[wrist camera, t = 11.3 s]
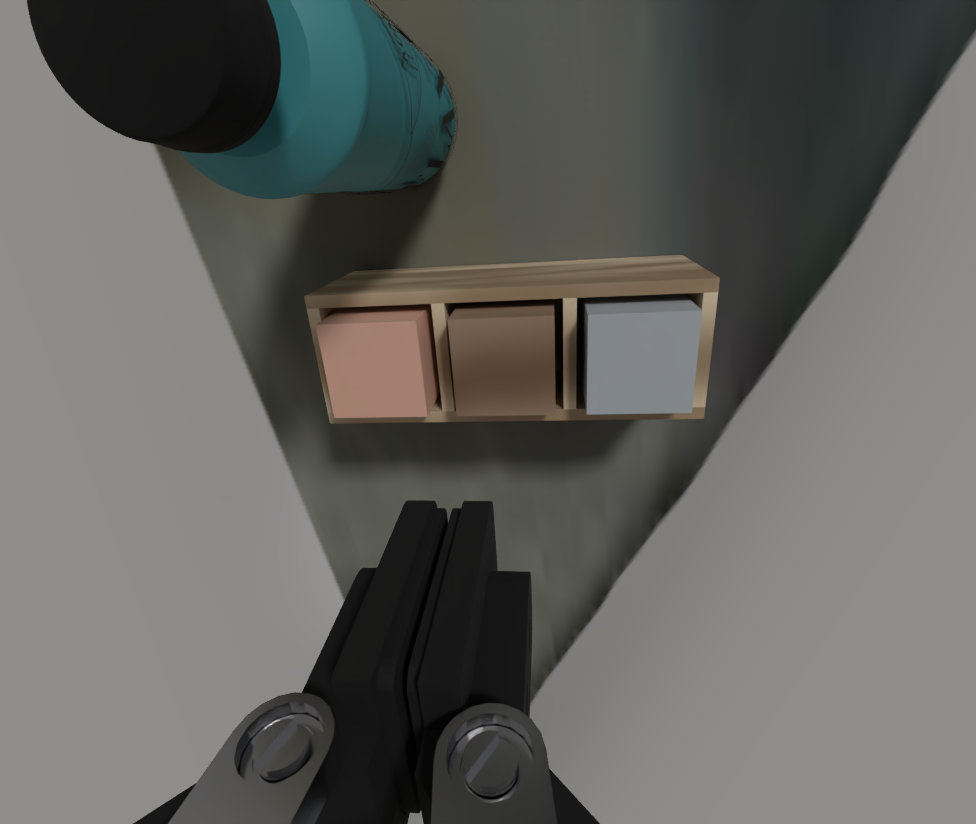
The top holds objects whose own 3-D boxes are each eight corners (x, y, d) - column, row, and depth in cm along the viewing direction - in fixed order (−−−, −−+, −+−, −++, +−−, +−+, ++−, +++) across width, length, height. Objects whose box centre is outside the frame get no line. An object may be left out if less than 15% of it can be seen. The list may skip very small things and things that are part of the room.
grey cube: (581, 290, 27) (588, 314, 22) (675, 286, 26) (702, 310, 22) (580, 376, 29) (586, 414, 24) (668, 374, 28) (691, 412, 23)
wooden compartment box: (354, 271, 31) (304, 296, 25) (682, 254, 29) (720, 278, 22) (371, 376, 34) (330, 423, 27) (672, 369, 31) (703, 418, 25)
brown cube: (464, 295, 27) (447, 319, 23) (553, 291, 27) (554, 315, 22) (470, 378, 29) (456, 416, 25) (554, 376, 29) (555, 414, 24)
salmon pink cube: (353, 300, 28) (315, 324, 24) (437, 296, 28) (416, 321, 23) (366, 381, 30) (334, 418, 25) (446, 379, 29) (427, 416, 25)
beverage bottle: (433, 213, 29) (244, 278, 11) (323, 152, 29) (-69, 115, 10) (487, 90, 27) (353, -87, 8) (367, 20, 26) (-59, -338, 8)
